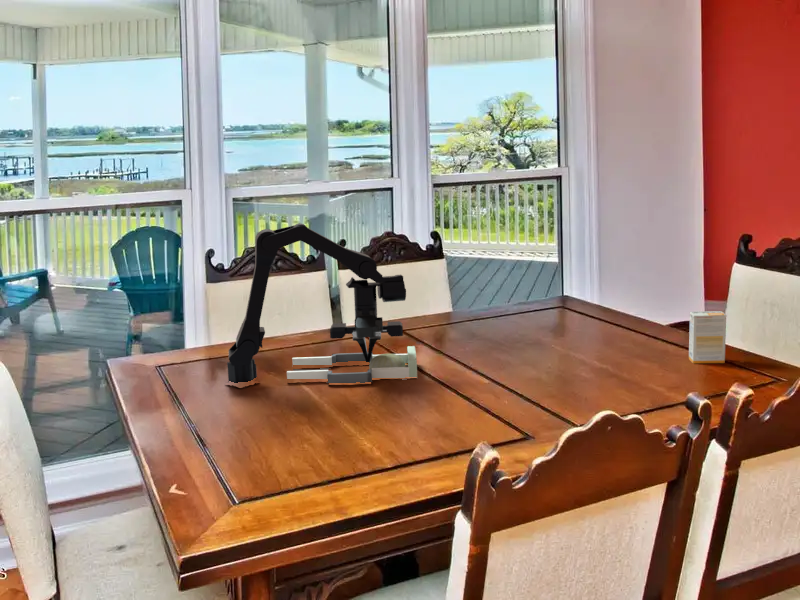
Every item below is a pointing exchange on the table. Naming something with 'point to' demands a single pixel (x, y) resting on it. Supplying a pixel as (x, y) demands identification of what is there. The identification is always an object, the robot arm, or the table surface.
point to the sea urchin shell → (386, 361)
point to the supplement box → (707, 337)
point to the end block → (412, 361)
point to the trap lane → (346, 377)
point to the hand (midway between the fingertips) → (367, 361)
